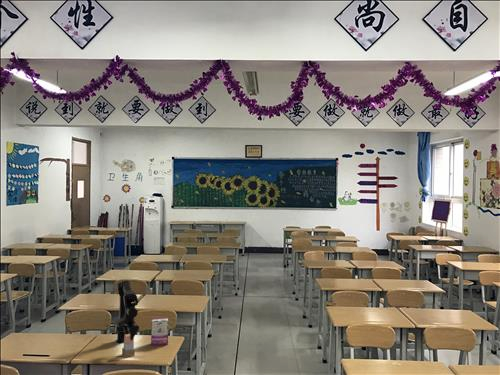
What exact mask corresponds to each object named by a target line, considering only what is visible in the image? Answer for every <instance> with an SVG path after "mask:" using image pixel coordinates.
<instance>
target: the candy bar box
mask: <svg viewBox="0 0 500 375" xmlns="http://www.w3.org/2000/svg"><path fill="white" fill-rule="evenodd" d="M150 329H151V334H150V335H151V336H150V338H151V340H150V341H151V342H150V346H165V345H166V346H167V345H169V318H155V319H154V318H152V319H151V327H150Z"/></svg>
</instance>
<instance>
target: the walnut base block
mask: <svg viewBox="0 0 500 375" xmlns="http://www.w3.org/2000/svg"><path fill="white" fill-rule="evenodd" d="M121 349H122V350H121V355H122V356H123V357H124V358H128V357H134V356H135V354H136V353H135V352H136V349H135V348H134V349H133V350H127V351H125V349H124V348H123V347H122V348H121Z"/></svg>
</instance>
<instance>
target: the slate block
mask: <svg viewBox="0 0 500 375" xmlns="http://www.w3.org/2000/svg"><path fill="white" fill-rule="evenodd" d="M122 348H124V349H125V351H127V350H133V349H135V343H130V344H126V343H125V342H123V347H122Z"/></svg>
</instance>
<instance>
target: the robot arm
mask: <svg viewBox="0 0 500 375" xmlns="http://www.w3.org/2000/svg"><path fill="white" fill-rule="evenodd" d="M116 292H117V294H118V296H119V305H118V306H119V307H118V308H119V313H118V314H119V315H118V319H117V320H115V327H114V333H115V334H116V338H117V339H115V342H116V343H117V344H122V343H124V335H126V334H130V339H131V341H132V340H133V338H134V339H135V336H136V334H137V332H138V331H139V330H140V326H139V325H138V324H137V323H136V321H135V318H136V317H137V316H138V310H137V308H136V306H138V304H139V300H138V299H139V298H138V296H137V294H136V293H135V291H134V290H132V287H131V282H130V280H122V281H120V282H118V283H117V284H116Z"/></svg>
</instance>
